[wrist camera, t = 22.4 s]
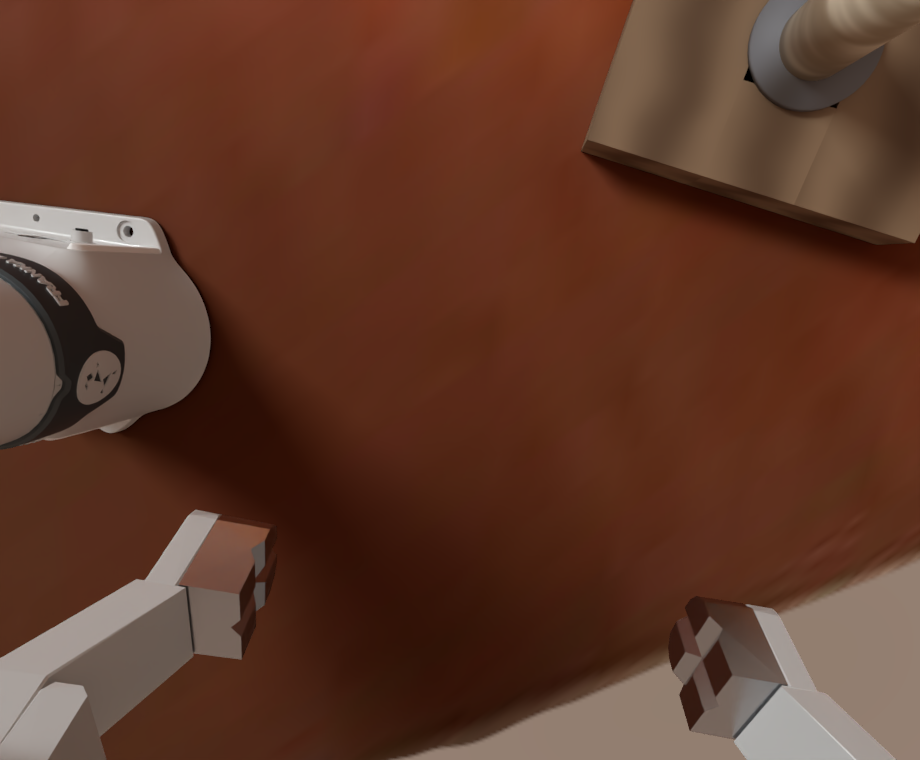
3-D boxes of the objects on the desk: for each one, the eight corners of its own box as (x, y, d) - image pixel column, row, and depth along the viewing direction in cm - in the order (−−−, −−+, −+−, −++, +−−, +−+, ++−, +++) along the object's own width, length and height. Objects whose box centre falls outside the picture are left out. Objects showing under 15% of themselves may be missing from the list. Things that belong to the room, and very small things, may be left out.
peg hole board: (580, 151, 40) (587, 139, 36) (678, -131, 36) (697, -178, 32) (876, 244, 39) (914, 243, 36) (1010, -33, 35) (1071, -69, 31)
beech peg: (711, 104, 38) (824, 10, 24) (758, -17, 36) (912, -197, 22) (819, 137, 38) (1000, 62, 23) (872, 17, 36) (1102, -143, 22)
